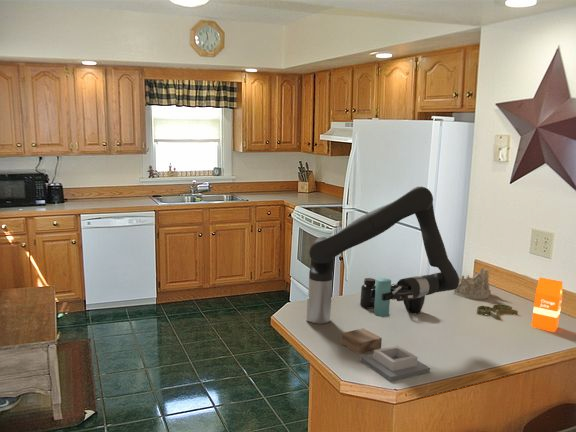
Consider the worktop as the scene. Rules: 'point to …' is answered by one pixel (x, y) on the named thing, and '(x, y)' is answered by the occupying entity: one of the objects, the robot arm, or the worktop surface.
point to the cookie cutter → (500, 309)
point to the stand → (361, 341)
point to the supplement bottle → (367, 293)
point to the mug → (414, 305)
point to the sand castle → (474, 286)
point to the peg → (381, 288)
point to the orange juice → (547, 304)
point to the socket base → (395, 363)
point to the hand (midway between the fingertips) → (377, 295)
